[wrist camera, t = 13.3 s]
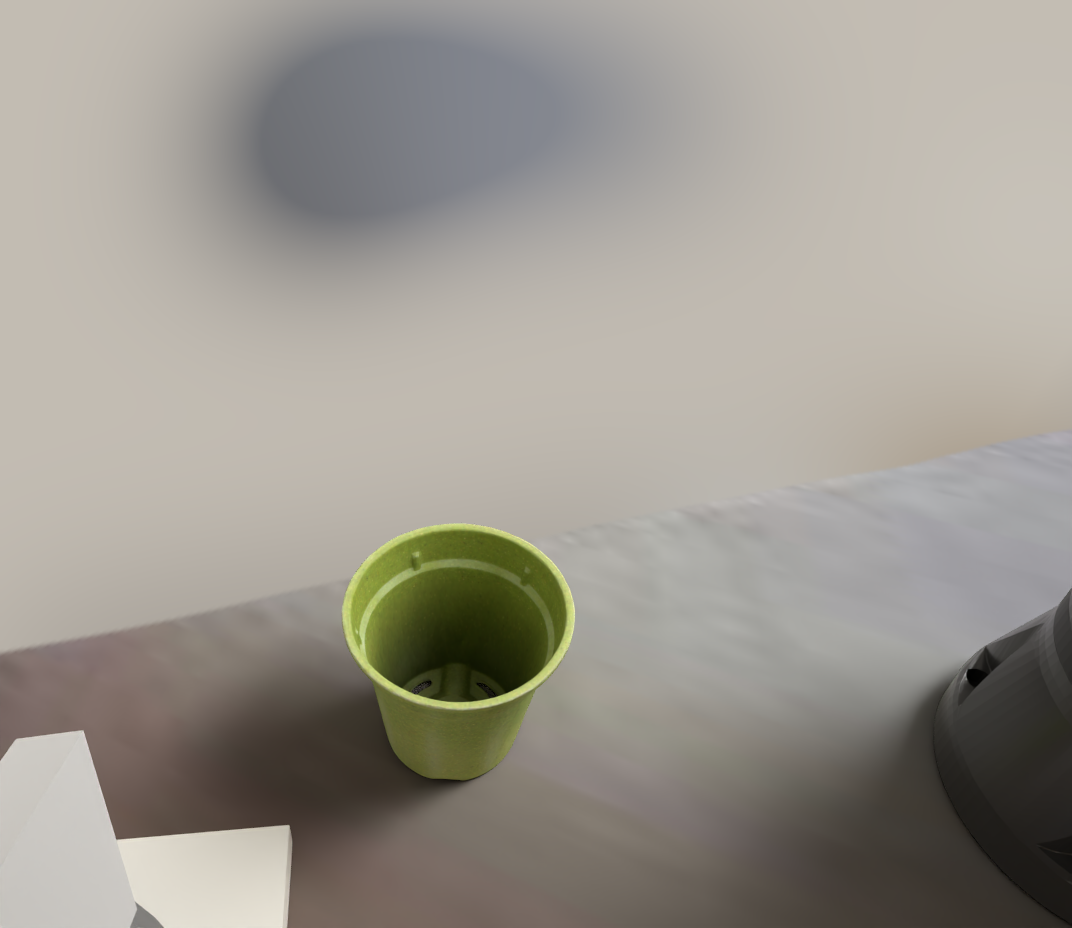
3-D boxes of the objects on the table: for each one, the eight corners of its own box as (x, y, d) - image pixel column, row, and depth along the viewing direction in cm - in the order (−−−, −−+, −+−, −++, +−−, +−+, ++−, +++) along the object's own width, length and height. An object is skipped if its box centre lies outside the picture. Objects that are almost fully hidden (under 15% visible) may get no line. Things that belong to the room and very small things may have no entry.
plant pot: (593, 726, 42) (621, 610, 37) (448, 866, 37) (455, 755, 31) (457, 613, 47) (463, 493, 41) (309, 722, 41) (292, 601, 35)
